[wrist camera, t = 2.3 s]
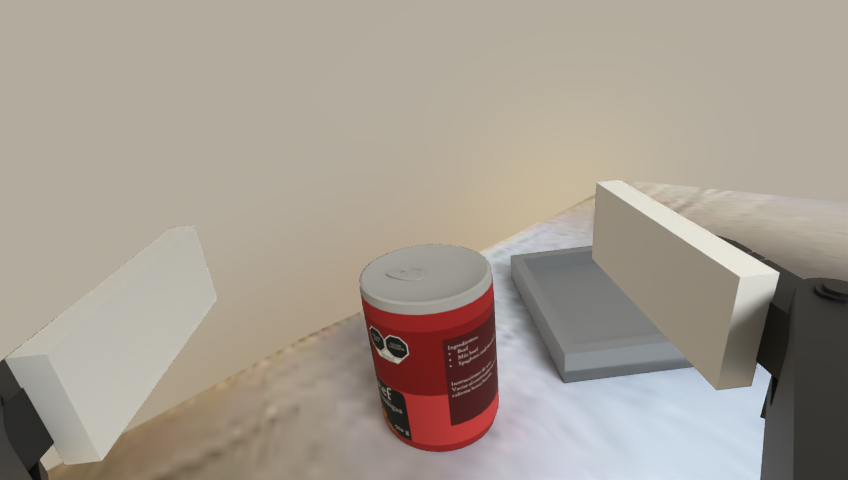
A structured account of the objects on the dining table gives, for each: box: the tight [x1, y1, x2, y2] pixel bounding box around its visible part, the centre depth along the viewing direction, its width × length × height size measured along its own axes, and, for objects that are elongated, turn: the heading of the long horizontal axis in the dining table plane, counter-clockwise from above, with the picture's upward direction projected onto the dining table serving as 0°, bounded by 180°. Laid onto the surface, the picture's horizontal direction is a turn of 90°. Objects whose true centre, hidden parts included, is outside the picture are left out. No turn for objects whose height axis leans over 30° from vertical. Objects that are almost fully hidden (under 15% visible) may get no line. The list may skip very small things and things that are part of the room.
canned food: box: [359, 244, 499, 452], centre depth 29 cm, size 8×8×11 cm
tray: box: [511, 246, 694, 383], centre depth 39 cm, size 16×16×2 cm
